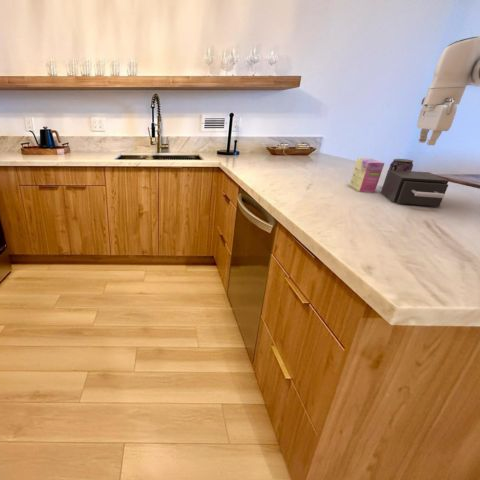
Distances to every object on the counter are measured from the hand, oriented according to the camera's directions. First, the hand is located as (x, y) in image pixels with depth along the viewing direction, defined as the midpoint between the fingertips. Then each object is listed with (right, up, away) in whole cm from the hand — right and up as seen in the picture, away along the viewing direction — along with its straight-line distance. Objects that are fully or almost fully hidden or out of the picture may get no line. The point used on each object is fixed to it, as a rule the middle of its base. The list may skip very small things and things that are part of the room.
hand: (425, 143), depth 98 cm
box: (-8, -12, +20) cm, 25 cm away
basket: (-2, -19, +2) cm, 20 cm away
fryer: (-1, -18, +7) cm, 20 cm away
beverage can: (+5, -13, +20) cm, 24 cm away
